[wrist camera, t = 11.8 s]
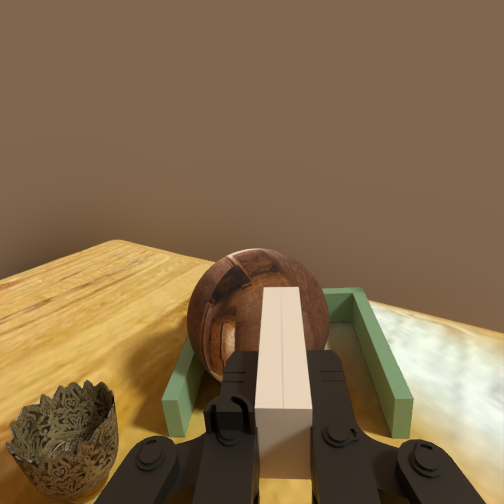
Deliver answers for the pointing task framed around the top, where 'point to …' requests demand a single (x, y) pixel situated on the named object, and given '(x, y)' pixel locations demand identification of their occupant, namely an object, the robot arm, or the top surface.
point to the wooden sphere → (249, 305)
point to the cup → (68, 441)
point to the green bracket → (340, 310)
